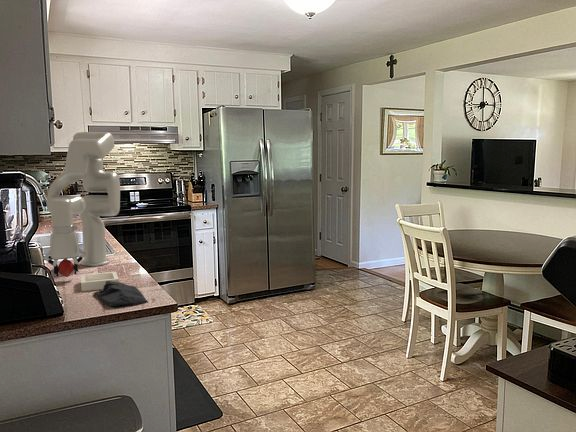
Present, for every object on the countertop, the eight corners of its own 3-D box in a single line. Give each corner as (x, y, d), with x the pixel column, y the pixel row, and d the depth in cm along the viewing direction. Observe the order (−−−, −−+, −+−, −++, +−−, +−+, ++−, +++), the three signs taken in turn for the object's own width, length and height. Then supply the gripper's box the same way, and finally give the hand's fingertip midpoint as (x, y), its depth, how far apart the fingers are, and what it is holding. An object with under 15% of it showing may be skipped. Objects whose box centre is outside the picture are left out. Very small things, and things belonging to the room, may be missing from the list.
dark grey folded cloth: (103, 312, 149) (102, 297, 149) (92, 294, 168) (91, 281, 167) (151, 304, 157) (150, 290, 157) (135, 288, 176) (135, 276, 175)
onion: (55, 278, 182) (53, 259, 181) (64, 274, 188) (62, 255, 186) (69, 279, 181) (67, 259, 180) (77, 275, 187) (76, 255, 186)
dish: (81, 282, 182) (80, 274, 182) (116, 279, 187) (115, 271, 187) (81, 291, 170) (81, 282, 170) (119, 287, 176) (118, 279, 175)
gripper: (86, 226, 188) (89, 269, 191) (38, 230, 181) (42, 274, 184) (87, 230, 182) (90, 274, 185) (37, 233, 175) (41, 279, 177)
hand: (66, 274), depth 184 cm, fingers closed on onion, 5 cm apart
